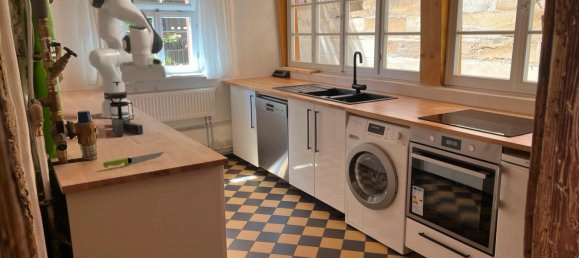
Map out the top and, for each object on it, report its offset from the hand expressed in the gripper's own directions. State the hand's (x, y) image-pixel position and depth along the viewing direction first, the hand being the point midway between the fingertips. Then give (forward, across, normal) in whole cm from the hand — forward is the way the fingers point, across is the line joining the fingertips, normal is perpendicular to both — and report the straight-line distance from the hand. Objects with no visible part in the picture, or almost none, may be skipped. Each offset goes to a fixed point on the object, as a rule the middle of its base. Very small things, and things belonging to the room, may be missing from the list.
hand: (145, 90), depth 206 cm
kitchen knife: (+22, -11, -52) cm, 57 cm away
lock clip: (+20, -21, +3) cm, 29 cm away
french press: (+20, -11, +22) cm, 32 cm away
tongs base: (+20, -12, +5) cm, 24 cm away
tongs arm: (+20, -8, +3) cm, 21 cm away
